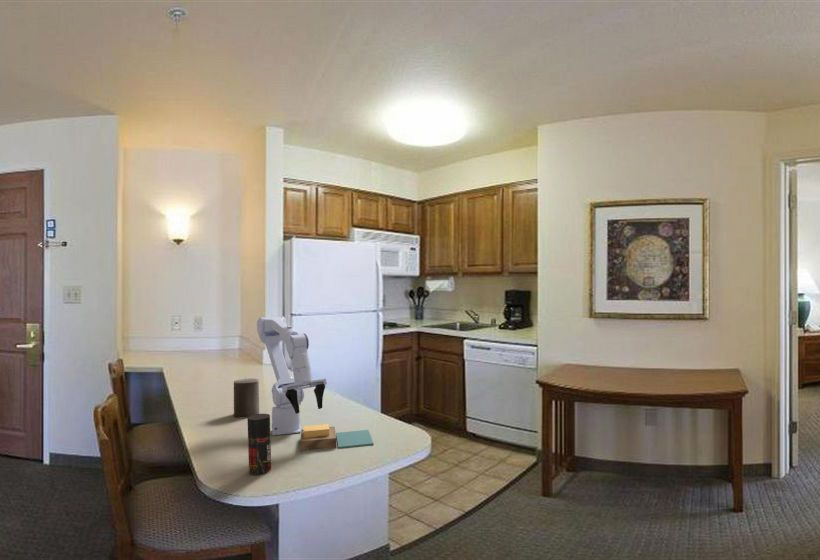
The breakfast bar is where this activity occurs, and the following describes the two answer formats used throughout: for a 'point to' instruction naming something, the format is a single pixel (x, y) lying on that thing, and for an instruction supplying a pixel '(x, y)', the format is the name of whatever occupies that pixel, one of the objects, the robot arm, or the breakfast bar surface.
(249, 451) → the deodorant
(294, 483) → the breakfast bar surface
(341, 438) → the mat
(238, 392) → the pillar candle
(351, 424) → the breakfast bar surface
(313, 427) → the tile
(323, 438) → the brown flat block
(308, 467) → the breakfast bar surface
